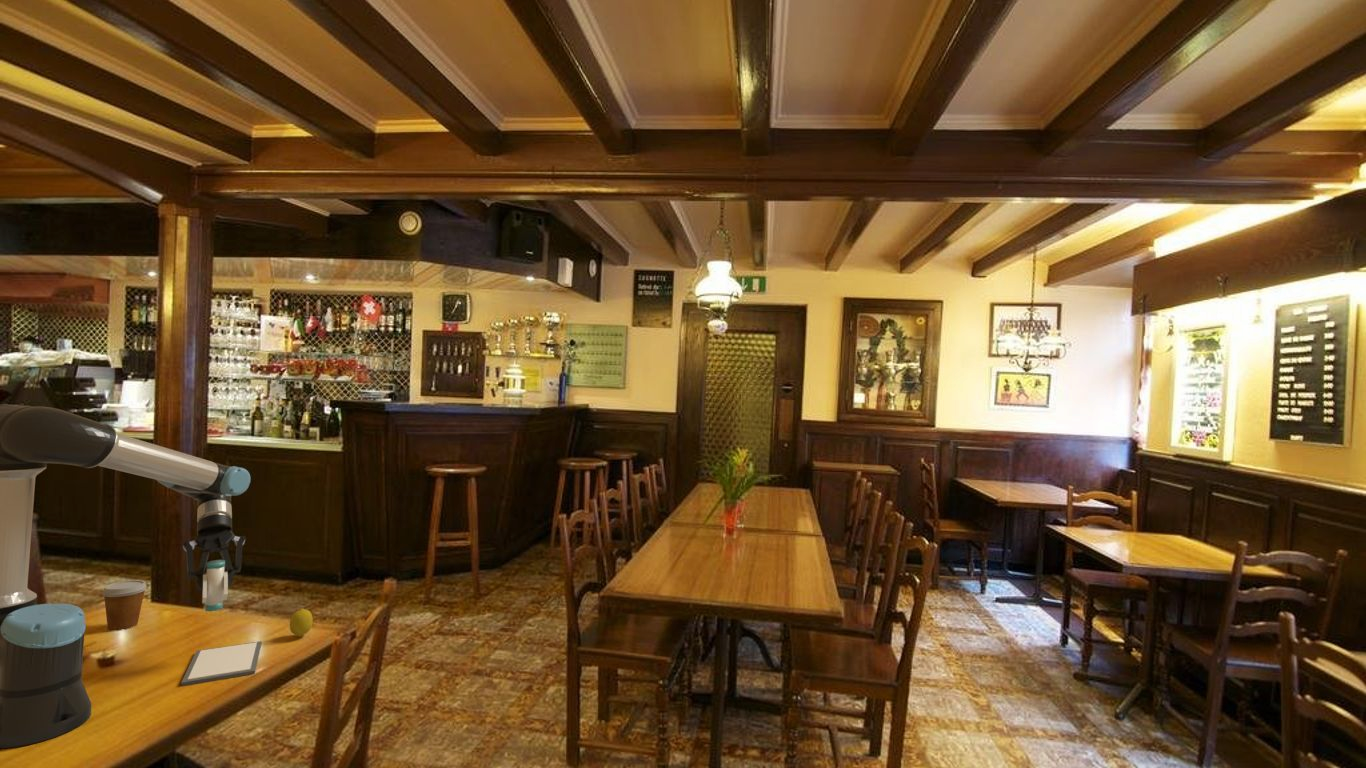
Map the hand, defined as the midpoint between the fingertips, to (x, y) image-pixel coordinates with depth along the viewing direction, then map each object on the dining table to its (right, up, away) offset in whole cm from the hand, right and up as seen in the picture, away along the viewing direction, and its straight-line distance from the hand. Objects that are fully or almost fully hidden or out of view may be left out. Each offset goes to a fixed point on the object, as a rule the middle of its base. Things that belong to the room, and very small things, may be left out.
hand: (215, 598), depth 152 cm
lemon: (+10, -18, +18) cm, 27 cm away
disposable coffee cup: (-43, -16, +21) cm, 51 cm away
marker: (-3, -4, +3) cm, 5 cm away
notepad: (+2, -17, 0) cm, 17 cm away
